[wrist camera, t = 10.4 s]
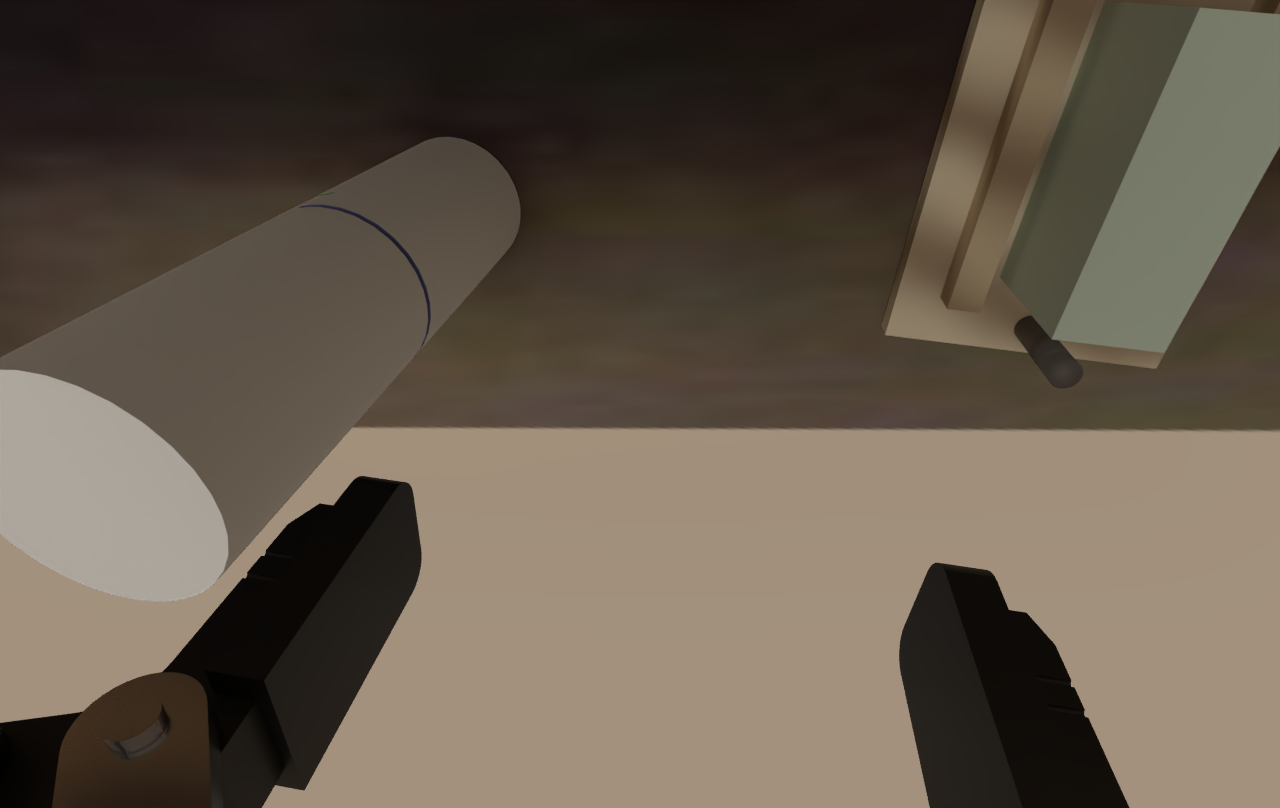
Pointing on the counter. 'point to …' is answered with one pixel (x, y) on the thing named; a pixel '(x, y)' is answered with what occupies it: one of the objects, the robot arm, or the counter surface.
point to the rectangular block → (1147, 171)
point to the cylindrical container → (237, 373)
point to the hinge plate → (960, 181)
